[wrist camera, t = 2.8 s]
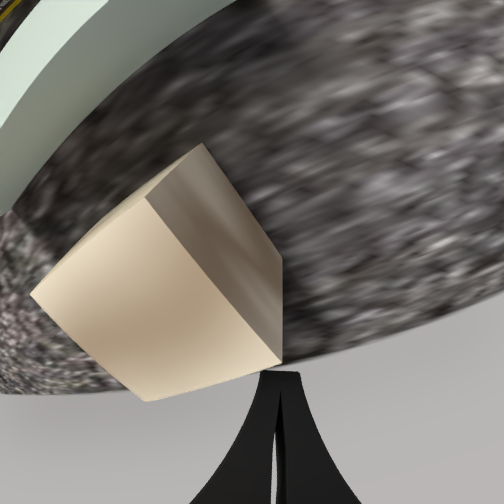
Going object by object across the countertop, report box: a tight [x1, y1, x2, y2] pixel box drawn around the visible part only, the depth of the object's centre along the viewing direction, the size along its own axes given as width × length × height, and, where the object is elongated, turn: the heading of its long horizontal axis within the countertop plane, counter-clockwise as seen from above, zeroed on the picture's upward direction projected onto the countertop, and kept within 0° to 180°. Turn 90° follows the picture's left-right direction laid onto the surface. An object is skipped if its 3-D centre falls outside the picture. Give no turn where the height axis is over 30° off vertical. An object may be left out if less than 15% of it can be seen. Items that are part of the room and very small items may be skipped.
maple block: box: [30, 143, 283, 402], centre depth 9 cm, size 4×4×4 cm
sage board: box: [0, 0, 236, 216], centre depth 6 cm, size 1×12×4 cm, turn 123°
